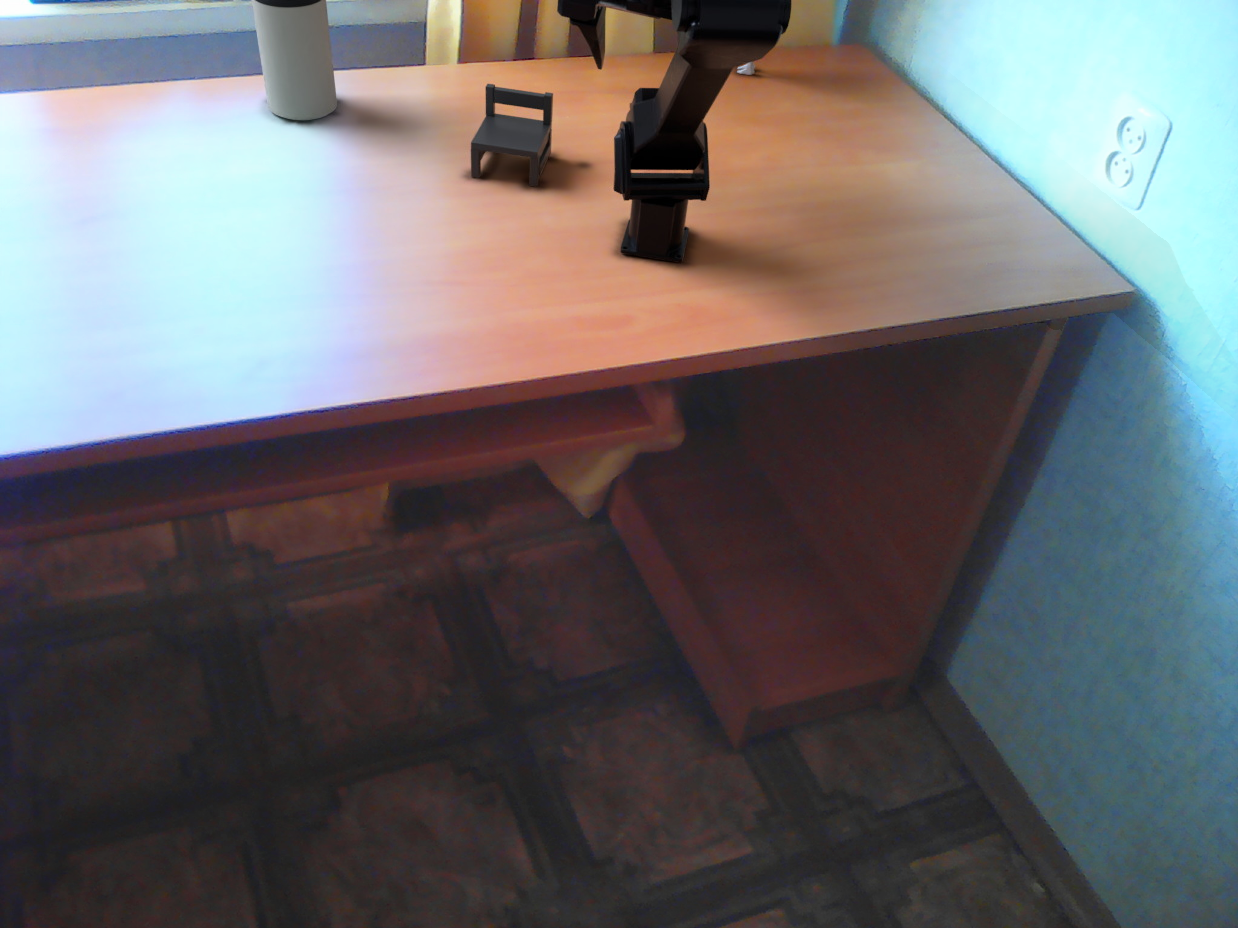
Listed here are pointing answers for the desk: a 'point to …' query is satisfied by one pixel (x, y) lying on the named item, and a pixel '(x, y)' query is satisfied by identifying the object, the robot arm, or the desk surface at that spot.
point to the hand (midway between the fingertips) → (642, 76)
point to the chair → (514, 130)
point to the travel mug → (296, 57)
